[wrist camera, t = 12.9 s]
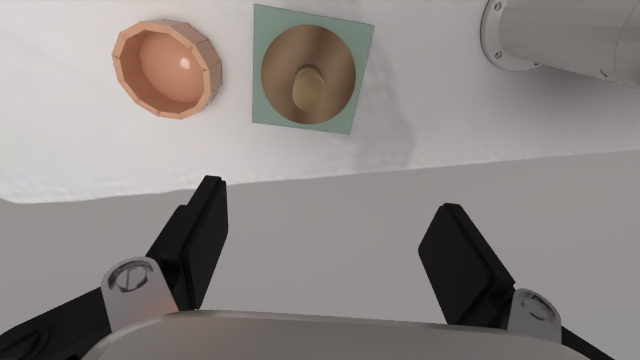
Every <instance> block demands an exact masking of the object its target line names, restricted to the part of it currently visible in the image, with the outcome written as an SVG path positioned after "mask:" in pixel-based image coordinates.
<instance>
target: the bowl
mask: <svg viewBox="0 0 640 360" xmlns="http://www.w3.org/2000/svg"><path fill="white" fill-rule="evenodd" d="M112 59H113V63H114V67H115V71H116V75H117V79H118V82H119V83H120V84H121V86H122V87H123V88H124V89H125V91H126V92H127V93H128V94H129V96H130V97H131V98H132V100H133V101H134V102H135V103H136V104H138V105H139V106H141V107H143V108H144V109H146V110H148V111H150V112H151V113H153V114H155V115H156V116H159V117H165V118H173V119H184V118H186V117H189V116H191V115H193V114H196V113H198V112H200V111H201V110H202V109H203V108H204V107H205V106H206V105H207V104H208V103H209V102H210V101H211V100H212V99H213V98H214V96H215V94H216V92H217V91H218V89H219V87H220V86H221V84H222V71H221V60H220V58H219V57H218V55H217V53H216V51H215V49H214V48H213V46H212V44H211V42H210V40H208V38H207V37H205V36H204V35H203V34H201V33H200V32H199V31H197V30H196V29H195V28H193V27H192V26H191V25H189V24H188V23H183V22H177V21H171V20H165V19H162V20H152V21H143V22H139V23H137V24H136V25H134V26H132V27H130V28H128V29H126V30H124V31H122V32H120V33H119V36H118V39H117V41H116V44H115V47H114V50H113V52H112Z"/></svg>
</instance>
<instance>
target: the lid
mask: <svg viewBox="0 0 640 360" xmlns="http://www.w3.org/2000/svg"><path fill="white" fill-rule="evenodd" d="M355 81H356V70H355V64H354V60H353V57H352V55H351V53H350V51H349V49H348V47H347V46H346V44H345V43H344V42H343V41H342V40H341V39H340V38H339V37H338V36H337V35H336V34H334V33H333V32H331V31H330V30H328V29H326V28H323V27H320V26H316V25H299V26H295V27H292V28H290V29H288V30H286V31H284V32H282V33H281V34H280V35H278V36H277V37H276V38H275V39H274V40H273V42H272V43H271V44H270V46H269V47H268V49H267V51H266V53H265V55H264V58H263V61H262V65H261V83H262V87H263V91H264V93H265V96H266V98H267V100H268V101H269V103H270V104H271V106H272V107H273V108H274V109H275V110H276V111H277V112H278V113H279V114H280V115H281V116H283V117H285V118H286V119H288V120H290V121H292V122H296V123H299V124H307V125H310V124H319V123H322V122H325V121H328V120H330V119H332V118H333V117H335V116H336V115H337V114H339V113H340V112H341V111H342V110H343V109H344V108H345V106H346V105H347V104H348V102H349V100H350V98H351V96H352V94H353V91H354V87H355Z"/></svg>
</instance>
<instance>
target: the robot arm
mask: <svg viewBox="0 0 640 360" xmlns="http://www.w3.org/2000/svg"><path fill="white" fill-rule="evenodd" d="M494 6H495V8H494ZM481 42H482V46H483V50H484V52H485V54H486V56H487V58H488V59H489V60H490V61H491V62H492V63H493V64H495V65H496V66H498V67H500V68H503V69H505V70H509V71H515V72H516V71H527V70H531V69H535V68H537V67H540V66H542V65H546V66H550V67H554V68H558V69H562V70H566V71H570V72H574V73H578V74H582V75H586V76H590V77H594V78H598V79H602V80H606V81H610V82H614V83H618V84H621V85H625V86H629V87H633V88H638V89H640V0H489V3H488V5H487V7H486V10H485V13H484V17H483V20H482V27H481ZM495 54H496V55H495ZM227 234H228V213H227V192H226V181H222V179H221V177H218V176H209V175H206V176H205V177H204V179H203V180H202V182H201V183H200V185H199V187H198V188H197V190H196V191H195V193H194V195H193V196H192V198H191V199H190V201H189V203H188V204H187V205H180V206H179V207H178V208H177V209H176V211H175V212H174V213H173V215H172V216H171V218H170V219H169V221H168V222H167V224H166V225H165V227H164V228H163V230H162V231H161V233H160V234H159V236H158V237H157V239H156V240H155V242H154V243H153V245H152V246H151V248H150V249H149V251H148V253H147V254H146V256H145V257H142V256H140V257H133V258H129V259H126V260H123V261H121V262H119V263H117V264H116V265H114V266H113V267H112V268H110V269H109V270H108V271H107V273H106V274H105V275H104V277H103V279H102V281H101V287H99V288H97V289H95V290H92V291H90V292H88V293H86V294H84V295H82V296H80V297H77V298H75V299H73V300H71V301H69V302H67V303H64V304H63V305H60V306H58V307H56V308H54V309H52V310H50V311H47V312H45V313H43V314H41V315H39V316H37V317H35V318H32V319H30V320H28V321H26V322H24V323H22V324H19V325H17V326H15V327H13V328H12V329H10V330H8V331H6V332H5V333H3V334H2V335H0V360H614V359H613V358H611V357H610V356H608V355H607V354H605V353H603V352H602V351H600V350H599V349H597V348H596V347H594V346H592V345H591V344H589V343H588V342H586V341H585V340H583V339H581V338H580V337H578V336H577V335H575V334H574V333H572V332H571V331H569V330H568V329H566V328H564V327H563V326H561V318H560V315H559V313H558V312H557V310H556V309H555V307H554V306H553V305H552V304H551V303H550V302H549V301H548V300H546V299H545V298H544V297H542V296H541V295H539V294H538V293H536V292H534V291H531V290H528V289H517V290H515V289H514V287H513V285H514V284H515V281H514V280H513V278H512V276H511V275H510V274H509V272H508V271H507V269H506V268H505V267H504V265H503V264H502V262H501V261H500V260H499V258H498V257H497V255H496V254H495V253H494V251H493V250H492V249H491V247H490V246H489V244H488V243H487V242H486V240H485V239H484V237H483V236H482V235H481V233H480V232H479V230H478V229H477V228H476V226H475V225H474V223H473V222H472V221H471V219H470V218H469V216H468V215H467V214H466V212H465V211H464V210H463V208H462V207H461V206H460V205H459V204H452V203H445V204H443V206H440V207H439V209H438V210H437V212H436V214H435V216H434V218H433V220H432V222H431V224H430V226H429V228H428V230H427V232H426V234H425V236H424V238H423V240H422V242H421V243H420V245H419V248H418V252H419V256H420V259H421V261H422V264H423V266H424V268H425V271H426V273H427V276H428V278H429V280H430V283H431V285H432V288H433V290H434V293H435V295H436V298H437V300H438V302H439V305H440V307H441V309H442V312H443V314H444V317H445V319H446V322H447V324H435V323H422V322H408V321H394V320H379V319H364V318H349V317H334V316H320V315H303V314H288V313H287V314H286V313H272V312H251V311H230V310H195V309H200V307H201V305H202V302H203V299H204V296H205V294H206V291H207V288H208V286H209V283H210V280H211V278H212V275H213V272H214V270H215V267H216V264H217V262H218V259H219V256H220V254H221V251H222V248H223V246H224V243H225V240H226V237H227Z"/></svg>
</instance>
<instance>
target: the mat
mask: <svg viewBox="0 0 640 360" xmlns="http://www.w3.org/2000/svg"><path fill="white" fill-rule="evenodd" d="M299 25H316V26H320V27H323V28H326V29H328V30H330V31H331V32H333V33H334V34H336V35H337V36H338V37H339V38H340V39H341V40H342V41H343V42H344V43H345V44H346V46H347V47H348V49H349V51H350V53H351V55H352V57H353V60H354V64H355V70H356V81H355V87H354V91H353V94H352V96H351V98H350V100H349V102H348V104H347V105H346V106H345V108H344V109H343V110H342V111H341V112H340V113H339V114H337V115H336V116H335V117H333V118H332V119H330V120H328V121H325V122H322V123H319V124H310V125H307V124H299V123H296V122H292V121H290V120H288V119H286V118H285V117H283V116H281V115H280V114H279V113H278V112H277V111H276V110H275V109H274V108H273V107H272V106H271V104H270V103H269V101H268V100H267V98H266V96H265V93H264V91H263V87H262V83H261V65H262V61H263V58H264V55H265V53H266V51H267V49H268V47H269V46H270V44H271V43H272V42H273V40H274V39H275V38H276V37H277V36H278V35H280V34H281V33H282V32H284V31H286V30H288V29H290V28H292V27H295V26H299ZM373 30H374V25H369V24H363V23H358V22H352V21H346V20H341V19H335V18H330V17H324V16H318V15H313V14H307V13H301V12H296V11H290V10H285V9H279V8H273V7H268V6H262V5H257V4H254V47H253V107H252V122H253V123H261V124H269V125H277V126H285V127H293V128H301V129H309V130H317V131H325V132H333V133H341V134H349V135H350V131H351V126H352V122H353V117H354V113H355V109H356V104H357V100H358V96H359V91H360V87H361V82H362V78H363V74H364V69H365V65H366V61H367V56H368V52H369V47H370V43H371V39H372V34H373Z"/></svg>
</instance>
